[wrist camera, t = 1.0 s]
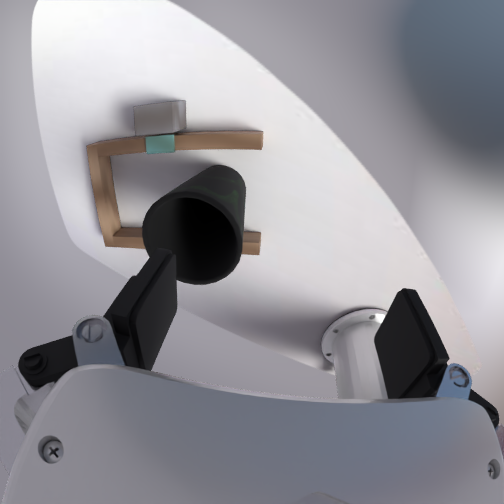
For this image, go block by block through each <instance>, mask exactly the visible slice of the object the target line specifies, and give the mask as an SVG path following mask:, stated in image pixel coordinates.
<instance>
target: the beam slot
mask: <svg viewBox="0 0 504 504" xmlns="http://www.w3.org/2000/svg"><path fill="white" fill-rule="evenodd" d="M134 122H135V136H136V137H128V138H120V139H112V140H105V141H99V142H96V143H93V144H90V145H88V146H87V154H88V162H89V168H90V175H91V181H92V187H93V192H94V198H95V203H96V208H97V213H98V217H99V222H100V226H101V230H102V235H103V239H104V243H105V246H106V247H123V248H140V249H145V246H144V243H143V237H142V228H125V227H121V223H120V218H119V213H118V207H117V202H116V196H115V190H114V183H113V177H112V170H111V162H110V156H112V155H121V154H131V153H142V152H147V154H155V153H173V152H175V150H199V149H254V150H262V147H263V131H206V132H184V133H174V132H176V131H179V130H182V129H184V128H186V101H172V102H163V103H155V104H147V105H140V106H134ZM161 133H168V134H161ZM150 134H156V135H150ZM140 135H145V136H140ZM260 245H261V233H260V232H243V249H242V254H248V255H259V252H260Z"/></svg>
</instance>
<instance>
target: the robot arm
mask: <svg viewBox="0 0 504 504" xmlns="http://www.w3.org/2000/svg"><path fill="white" fill-rule="evenodd" d="M176 311H177V283H176V255H175V254H172V251H171V250H168V249H162V248H157V249H156V250H155V251H154V253H153V254H152V255H151V257H150V258H149V259H148V261H147V262H146V263H145V265H144V266H143V267H142V269H141V270H140V272H139V273H138V274H137V276H135V275H134V276H132V277H131V278H130V279H129V281H128V282H127V283H126V285H125V286H124V288H123V289H122V290H121V292H120V293H119V295H118V296H117V297H116V299H115V300H114V302H113V303H112V305H111V306H110V308H109V309H108V310H107V312H106V313H105V315H104V316H103V317H102V316H98V315H91V316H86V317H84V318H82V319H80V320H79V321H77V323H76V324H75V325H74V327H73V330H72V336H68V337H65V338H62V339H59V340H56V341H52V342H49V343H46V344H43V345H40V346H37V347H33V348H31V349H28V350H27V351H26V352H24V353H23V354H22V356H21V357H20V360H19V364H18V366H17V367H16V368H14V366H11V367H10V368H8V369H6V370H5V371H3V372H2V373H0V460H1V462H2V464H3V466H4V467H5V469H6V471H7V473H8V474H9V479H8V482H7V486H6V489H5V493H4V496H3V501H2V504H504V426H503V425H502V424H500V425H498V424H499V415H498V411H497V409H496V408H495V407H494V406H493V405H492V404H490V403H489V402H488V401H486V400H485V399H484V398H482V397H481V396H480V395H478V394H477V393H476V392H474V391H473V390H472V389H471V385H472V379H471V376H470V374H469V372H468V371H467V370H466V369H465V368H464V367H463V366H461V365H459V364H456V363H453V364H450V365H447V361H448V360H449V359H450V358H449V356H448V354H447V351H446V349H445V347H444V345H443V343H442V340H441V338H440V336H439V334H438V332H437V330H436V328H435V326H434V324H433V322H432V320H431V318H430V316H429V314H428V312H427V310H426V308H425V306H424V304H423V303H422V301H421V299H420V297H419V295H418V293H417V292H416V290H413V289H406V288H403V289H402V290H401V291H399V292H398V293H397V295H396V297H395V299H394V301H393V302H392V304H391V306H390V308H389V310H388V312H386V311H384V310H379V309H364V310H359V311H355V312H352V313H349V314H347V315H345V316H343V317H341V318H339V319H338V320H336V321H335V322H334V323H332V325H331V326H330V327H329V328H328V329H327V330H326V332H325V333H324V335H323V337H322V342H321V346H322V352H323V355H324V356H325V358H326V359H327V360H328V361H330V362H331V363H333V364H334V368H335V376H336V385H337V393H338V399H332V398H315V397H300V396H291V395H281V394H272V393H264V392H256V391H249V390H242V389H236V388H230V387H224V386H219V385H213V384H208V383H203V382H198V381H193V380H188V379H184V378H179V377H174V376H170V375H166V374H162V373H158V372H153V371H151V370H152V367H153V365H154V362H155V360H156V358H157V355H158V353H159V351H160V348H161V346H162V343H163V341H164V339H165V337H166V334H167V332H168V330H169V327H170V325H171V323H172V321H173V318H174V316H175V314H176Z"/></svg>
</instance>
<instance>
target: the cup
mask: <svg viewBox="0 0 504 504" xmlns="http://www.w3.org/2000/svg"><path fill="white" fill-rule="evenodd" d="M245 197H246V187H245V182H244V180H243V178H242V177H241V175H240V174H239V173H238V172H237V171H235V170H234V169H232V168H230V167H227V166H222V165H218V166H212V167H210V168H208V169H206V170H204V171H203V172H201V173H199V174H198V175H196V176H194V177H193V178H191V179H189V180H188V181H186V182H185V183H183V184H182V185H180V186H178V187H177V188H175V189H174V190H172V191H171V192H169V193H167V194H166V195H164V196H163V197H161V198H160V199H159V200H158V201H156V202H155V203H154V204H153V205H152V206H151V207H150V209H149V210H148V211H147V213H146V215H145V218H144V221H143V226H142V237H143V243H144V246H145V249H146V251H147V253H148V255H149V257H151V255H152V254H153V253H154V251H155V250H156V249H157V248H162V249H168V250H171V251H172V254H175V255H176V280H178V281H181V282H183V283H189V284H194V285H206V284H210V283H214V282H217V281H219V280H221V279H223V278H225V277H227V276H228V275H229V274H230V273H231V272H232V271H233V270H234V269H235V267H236V266H237V264H238V263H239V261H240V257H241V254H242V249H243V231H244V214H245Z"/></svg>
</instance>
